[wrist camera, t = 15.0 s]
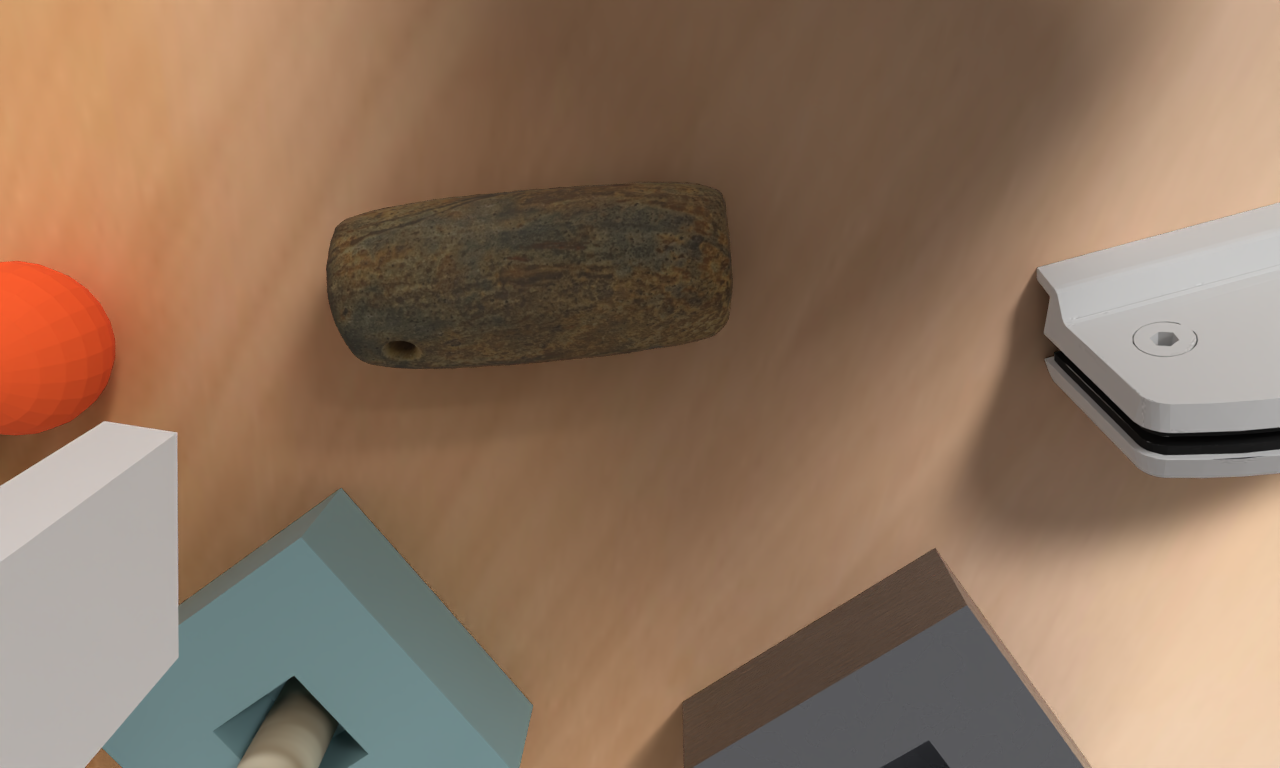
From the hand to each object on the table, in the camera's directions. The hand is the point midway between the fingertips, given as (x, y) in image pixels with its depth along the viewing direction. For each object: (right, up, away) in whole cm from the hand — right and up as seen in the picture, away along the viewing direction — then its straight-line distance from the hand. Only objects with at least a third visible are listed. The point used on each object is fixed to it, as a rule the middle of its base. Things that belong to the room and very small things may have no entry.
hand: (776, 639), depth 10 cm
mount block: (+10, -14, +37) cm, 41 cm away
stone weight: (-5, +8, +31) cm, 32 cm away
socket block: (-16, -11, +37) cm, 42 cm away
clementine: (-27, +5, +32) cm, 42 cm away
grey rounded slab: (+24, +6, +30) cm, 39 cm away
